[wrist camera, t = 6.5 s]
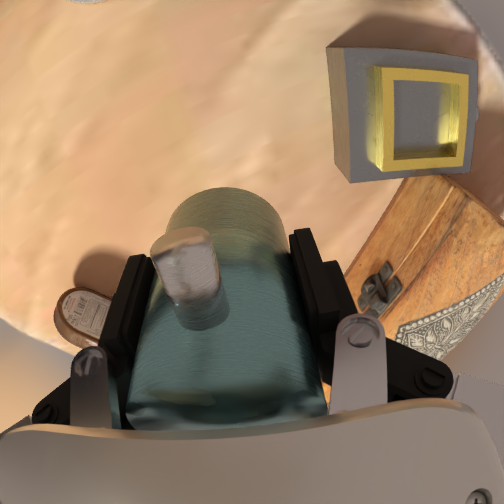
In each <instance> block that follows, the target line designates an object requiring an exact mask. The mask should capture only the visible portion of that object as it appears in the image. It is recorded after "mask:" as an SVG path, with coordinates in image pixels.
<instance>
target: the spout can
mask: <svg viewBox="0 0 504 504" xmlns="http://www.w3.org/2000/svg"><path fill="white" fill-rule="evenodd" d="M150 256H151V259H152V261H153V264H154V266H155V268H156V269H155V273H154V277H153V281H152V285H151V289H150V293H149V297H148V301H147V305H146V309H145V314H144V318H143V323H142V327H141V332H140V336H139V341H138V346H137V350H136V355H135V360H134V366H133V371H132V376H131V382H130V387H129V393H128V399H127V405H126V416H127V419H128V421H129V422H130V424H131V425H132V426H133V427H134V428H135V429H136V430H148V431H181V430H209V429H225V428H238V427H249V426H258V425H267V424H275V423H283V422H290V421H297V420H303V419H309V418H315V417H320V416H326V415H328V408H327V404H326V399H325V394H324V390H323V385H322V381H321V376H320V372H319V367H318V363H317V359H316V354H315V350H314V346H313V342H312V339H311V335H310V331H309V327H308V323H307V319H306V314H305V310H304V306H303V302H302V298H301V294H300V290H299V286H298V282H297V278H296V274H295V270H294V266H293V262H292V258H291V254H290V249H289V245H288V241H287V238H286V234H285V230H284V226H283V224H282V221H281V219H280V217H279V215H278V213H277V212H276V211H275V209H274V208H273V207H272V206H271V205H270V204H269V203H268V202H267V201H265V200H264V199H263V198H261V197H259V196H258V195H256V194H254V193H251V192H249V191H246V190H242V189H238V188H228V187H221V188H213V189H208V190H204V191H202V192H199V193H197V194H195V195H193V196H191V197H189V198H188V199H187V200H185V201H184V202H183V203H182V204H181V205H180V206H178V208H177V209H176V210H175V211H174V213H173V214H172V216H171V218H170V220H169V223H168V226H167V229H166V233H165V234H164V235H163V236H161V237H160V238H159V239H158V240H157V241H156V242H155V243H154V244H153V245H152V247H151V250H150Z"/></svg>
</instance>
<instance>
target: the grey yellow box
mask: <svg viewBox="0 0 504 504" xmlns="http://www.w3.org/2000/svg"><path fill="white" fill-rule="evenodd" d="M326 53H327V63H328V72H329V83H330V95H331V107H332V122H333V139H334V161H335V165H336V166H337V167H338V168H339V170H340V171H341V172H342V173H343V175H344V176H345V177H346V179H347V180H348V181H349V182H350V183H358V182H367V181H377V180H387V179H397V178H408V177H419V176H431V175H444V174H459V173H470V168H471V161H472V153H473V145H474V135H475V124H476V122H477V120H478V118H479V110H478V107H477V75H478V72H477V60H474V59H469V58H465V57H460V56H455V55H449V54H443V53H435V52H427V51H418V50H407V49H393V48H372V47H326Z"/></svg>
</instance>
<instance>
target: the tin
mask: <svg viewBox="0 0 504 504" xmlns="http://www.w3.org/2000/svg"><path fill="white" fill-rule="evenodd" d="M111 301H112V299H110V298H108V297H105V296H103V295H101V294H99V293H97V292H95V291H93V290H90V289H87V288H72V289H69V290H67V291H66V292H64V293H63V294H62V295H61V297H60V298H59V300H58V302H57V306H56V308H55V311H54V323H55V326H56V328H57V330H58V332H59V333H60V335H61V336H62V337H63V338H64V339H65V340H67V341H68V342H70V343H71V344H73V345H75V346H78V347H80V348H82V349H84V348H86V347H88V346H97V345H98V342H99V338H100V335H101V332H102V329H103V325H104V322H105V319H106V316H107V313H108V310H109V307H110V304H111Z"/></svg>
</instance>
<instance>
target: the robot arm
mask: <svg viewBox="0 0 504 504" xmlns="http://www.w3.org/2000/svg"><path fill="white" fill-rule="evenodd" d="M68 1H71V2H75V3H81V4H94V3H99V2H105V1H108V0H68ZM289 243H290V254H291V258H292V262H293V266H294V270H295V274H296V278H297V282H298V286H299V290H300V294H301V298H302V302H303V306H304V310H305V314H306V319H307V323H308V327H309V331H310V335H311V339H312V342H313V346H314V350H315V354H316V359H317V363H318V367H319V372H320V376H321V379H322V382H324V383H326V384H328V385H329V386H331V391H330V401H329V410H328V415H326V416H320V417H315V418H309V419H303V420H297V421H290V422H283V423H275V424H267V425H258V426H249V427H238V428H225V429H209V430H181V431H148V430H136V429H135V428H134V427H133V426H132V425H131V424H130V422H129V421H128V419H127V416H126V405H127V399H128V393H129V387H130V382H131V376H132V371H133V366H134V360H135V355H136V350H137V346H138V341H139V336H140V332H141V327H142V323H143V318H144V314H145V309H146V305H147V301H148V297H149V293H150V289H151V285H152V281H153V277H154V273H155V267H154V264H153V262H152V259H151V258H150V257H146V255H145V254H139V255H133V256H130V257H129V258H128V261H127V264H126V266H125V269H124V272H123V274H122V277H121V280H120V283H119V286H118V288H117V291H116V293H115V294H114V296H113V298H112V301H111V304H110V307H109V310H108V313H107V316H106V319H105V322H104V325H103V329H102V332H101V335H100V338H99V342H98V345H97V346H88V347H86V348H84V349H82V350H81V351H80V352H78V353H77V355H76V356H75V357H74V359H73V361H72V364H71V375H70V378H69V379H67V380H66V381H65V382H64V383H62V384H61V385H60V386H59V387H57V388H56V389H55V390H54V391H52V392H51V393H50V394H49V395H47V396H46V397H45V398H44V399H42V400H41V401H40V402H39V403H38V404H37V405H36V407H35V409H34V410H33V413H32V417H31V416H29V415H28V416H26V417H25V418H23V419H22V420H20V421H19V422H17V423H16V424H14V425H13V426H11V427H10V428H8V429H7V430H5V431H4V432H2V433H0V504H504V471H503V468H504V385H500V384H497V383H493V382H490V381H487V380H483V379H480V378H476V377H473V376H470V375H467V374H464V373H460V374H459V375H456V374H453V373H452V372H451V370H450V368H449V367H448V366H447V365H446V364H444V363H443V362H441V361H439V360H437V359H435V358H433V357H430V356H428V355H426V354H423V353H421V352H419V351H417V350H414V349H412V348H410V347H408V346H405V345H403V344H401V343H399V342H396V341H394V340H392V339H390V338H387V337H385V330H384V326H383V325H382V324H381V322H380V321H379V320H378V319H376V318H375V317H373V316H371V315H368V314H362V313H358V310H357V308H356V305H355V303H354V300H353V298H352V295H351V293H350V290H349V288H348V285H347V283H346V280H345V278H344V276H343V273H342V271H341V268H340V266H339V264H338V262H337V261H336V260H334V261H328V262H322V259H321V256H320V254H319V251H318V248H317V246H316V243H315V240H314V238H313V235H312V232H311V230H310V228H303V229H297V230H294V234H291V235H289Z"/></svg>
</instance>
